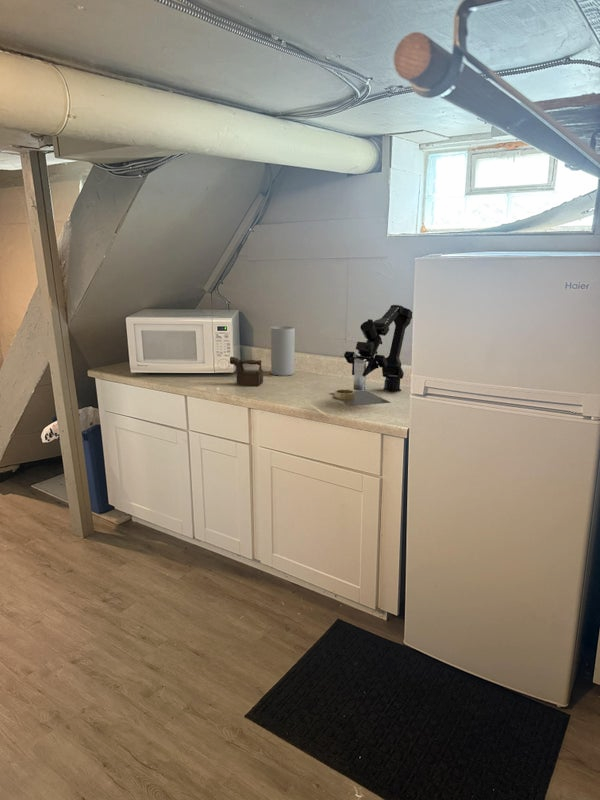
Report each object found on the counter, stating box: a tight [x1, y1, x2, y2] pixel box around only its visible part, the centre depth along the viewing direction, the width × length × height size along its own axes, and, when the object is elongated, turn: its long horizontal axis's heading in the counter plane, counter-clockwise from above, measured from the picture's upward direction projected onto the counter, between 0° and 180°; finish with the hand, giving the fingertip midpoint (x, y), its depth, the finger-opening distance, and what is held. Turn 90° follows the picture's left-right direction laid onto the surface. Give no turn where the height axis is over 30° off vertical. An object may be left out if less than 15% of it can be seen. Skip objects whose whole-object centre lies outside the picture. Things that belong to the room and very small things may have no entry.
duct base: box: [328, 389, 392, 407], centre depth 245 cm, size 19×24×3 cm
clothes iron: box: [229, 356, 264, 387], centre depth 273 cm, size 8×16×13 cm, turn 77°
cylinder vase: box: [270, 325, 296, 377], centre depth 296 cm, size 12×12×25 cm
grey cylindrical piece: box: [353, 358, 367, 391], centre depth 234 cm, size 5×5×13 cm
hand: (358, 375), depth 233 cm, fingers closed on grey cylindrical piece, 5 cm apart
